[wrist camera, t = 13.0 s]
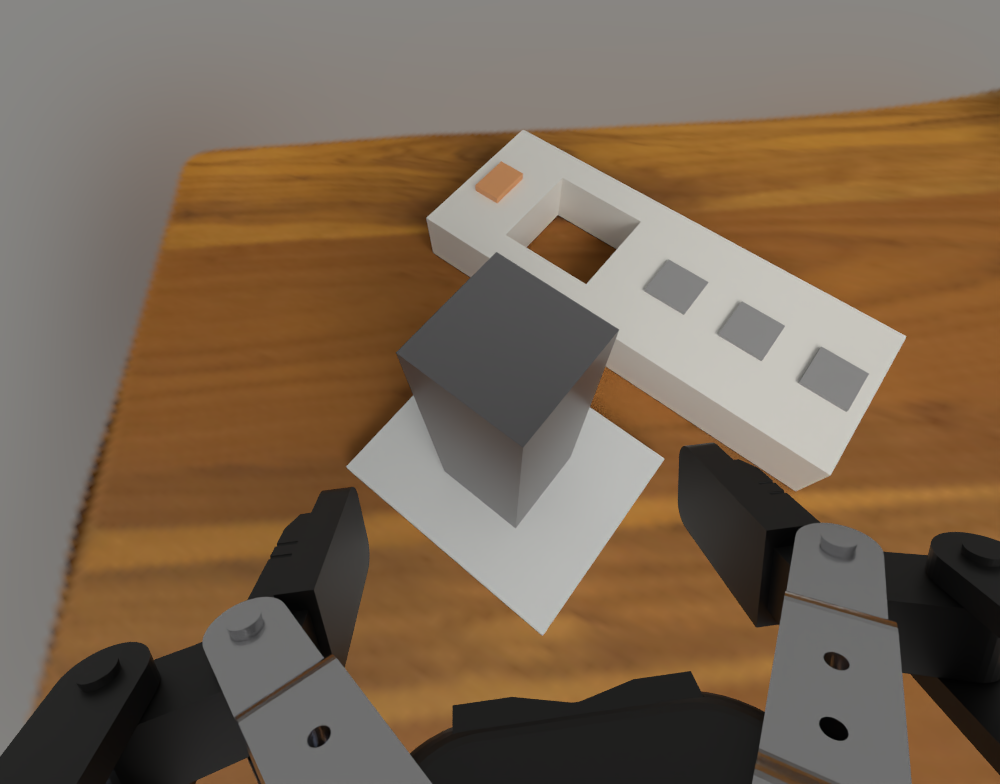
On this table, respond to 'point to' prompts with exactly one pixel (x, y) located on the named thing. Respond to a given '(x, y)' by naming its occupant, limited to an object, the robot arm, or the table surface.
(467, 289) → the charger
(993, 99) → the table surface
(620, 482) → the mat
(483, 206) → the power strip
